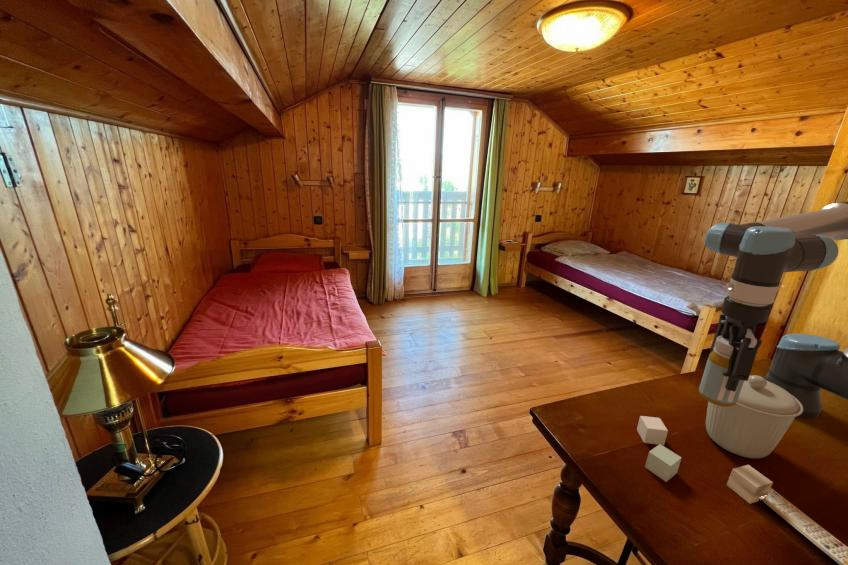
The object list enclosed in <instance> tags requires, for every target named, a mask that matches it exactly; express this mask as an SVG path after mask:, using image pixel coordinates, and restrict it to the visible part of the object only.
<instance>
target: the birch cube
mask: <svg viewBox="0 0 848 565" xmlns="http://www.w3.org/2000/svg"><path fill="white" fill-rule="evenodd" d="M773 484H774V482H773V481H772V480H770V479H769V478H768V477H766V476H765V475H763V473H760V472H759V471H758V470H756V469H755V468H754V467H752V466H751V465H750V464H746V465H742V466H738V467H734V468H732V470H731V472H730V475H729V477H728V480H727V482H726V486H727V487H728V488H729V489H730V490H732V491H733V492H735V493H736V495H738V496H739V497H741V498H742V499H743V500H745V501H746V503H748V504H753V503H757V502H760V501H759V497H761V496H764V495H767V496H768V495H769V493H770V491H771V487H772V486H773Z"/></svg>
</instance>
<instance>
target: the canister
mask: <svg viewBox="0 0 848 565" xmlns="http://www.w3.org/2000/svg"><path fill="white" fill-rule="evenodd" d="M707 402H708V401H707ZM802 412H803V406H802V404H801V403H800V402H799V401H798V400H797V399H796V398H795V397H794V396H793V395H791V394H790V393H789V392H787V391H786V390H784V389H783V388H781V387H779V386H778V385H776V384H773V383H771V382H769V381H766V380H765V379H764V377H763V376H760V375H754V374H753V375H751V374H750V375H749V378H748V381H744V383H743V386H742V389H741V391H740V394H739V397H738V400H737V402H736V404H735V405H733V406H730V407H723V406H718V405H715V404H712V403H710V402H708V403H707V409H706V419H705V430H706V432H707V434H708V436H709V438H710V439H712V441H713V442H715V444H717V445H718V446H719V447H721V448H722V449H725V450H726V451H727V452H731V453H732V454H734V455H736V456H740V457H744V458H748V459H754V460H755V459H762V458H766V457H768V456H769V455H770V454H772V452H773V451H774V450H775V448H776V447H777V445H779V442H780V441H781V440H782V438H783V437H784V436H785V434H786V433H787V431H788V429H789V428H790V426H791V425H792V423H793V421H794V420H795V419H796V418H798V417H797V416H799V415H801V414H802Z"/></svg>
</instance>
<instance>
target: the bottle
mask: <svg viewBox="0 0 848 565" xmlns="http://www.w3.org/2000/svg"><path fill="white" fill-rule="evenodd" d="M735 343H741V342H735ZM738 349H739V348H737V350H738ZM732 351H733V346H731V345H729V339H728V338H723V337H722V336H718V337H717V339H716V342H715V346H714V350H713V351H712V352H711V351H710V353H709V354H708V357H707V361H706V363H705V367H704V371H703V373H702V374H703V375H702V378H701V381H700V384H699V388H698V393H699V395H700V396H701V397H702V398H703V399H704V400H705V401H707V402H710V403H712V404H715V405H718V406H723V407H730V406H733V405H735V404H736V402H737V400H738V397H739V394H740V391H741V389H742V386H743V383H744V380H740V381H739V384H738V387H737V389H736V392H735V395H734V398H733V401H732V402H728V397H729V394H730V391H729V390H727V389H726V390H725V393H724V396H723V399H722V400H717V398H718V395H719V392H720V389H721V386H722V383H723V379H724V376H723V373H727V370H728V367H729V359H730V356H731V354H732Z"/></svg>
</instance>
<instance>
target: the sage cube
mask: <svg viewBox="0 0 848 565" xmlns="http://www.w3.org/2000/svg"><path fill="white" fill-rule="evenodd" d="M681 461H682V457H681V456H680V455H679V454H677V453H675V452H673V451H672V450H670V449H669V448H667V447H665V445H661V444H659V445H658V444H657V445H656V446H655V447H653V448H652V449H651V450H650V451H648V455H647V458H646V463H645V465H644V468H645V469H647V470H648V471H650V472H651V473H652V474H654V475H656V476H657V477H658V478H660V479H661V480H663V481H664V482H665V483H667V482H669V480H671V479H672V478H673V477H674V476H675V475H676V474H678V471H679V468H680V463H681Z"/></svg>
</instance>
